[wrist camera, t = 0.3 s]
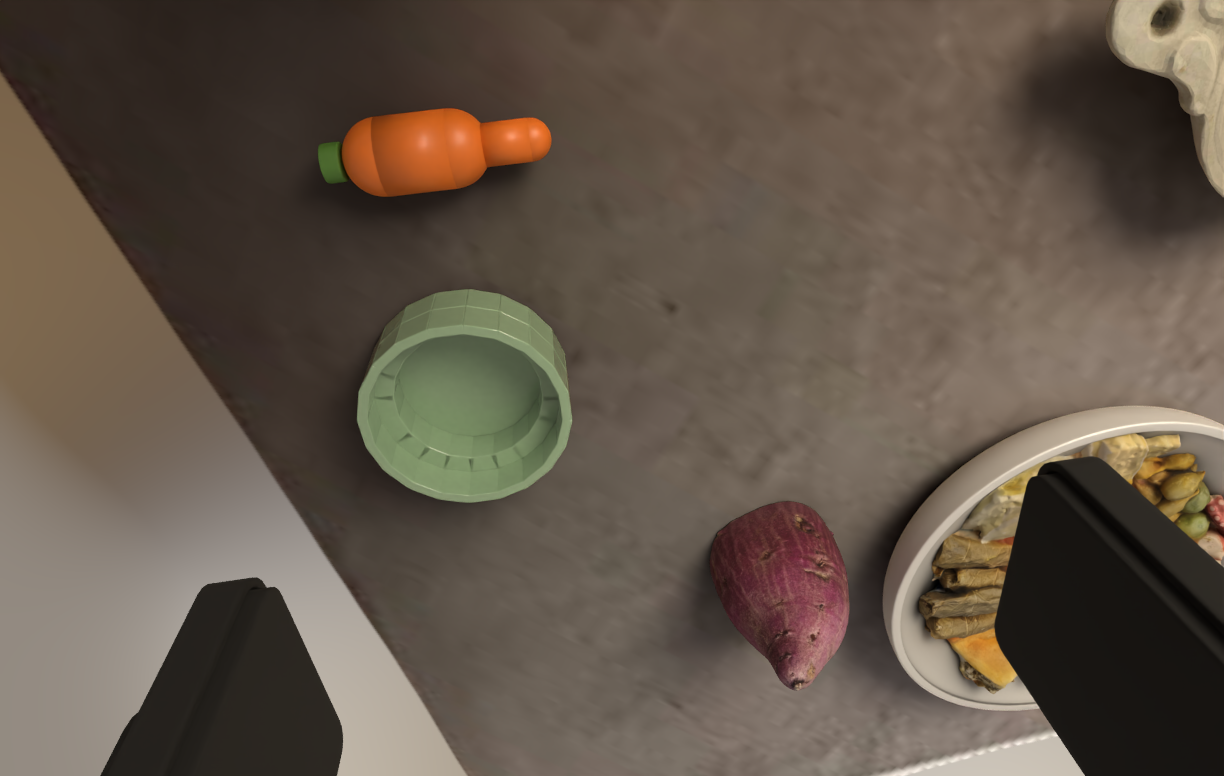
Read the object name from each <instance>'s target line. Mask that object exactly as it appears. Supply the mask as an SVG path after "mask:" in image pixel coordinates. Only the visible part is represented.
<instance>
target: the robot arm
mask: <svg viewBox="0 0 1224 776" xmlns="http://www.w3.org/2000/svg"><path fill="white" fill-rule="evenodd" d="M994 629H995V636H996V640H997V642H998V645H999V647H1000V649H1001V651H1002V653H1003V654H1004V656H1005V657H1006V659H1007V660H1008V662H1009V663H1010V665H1011V666H1012V668H1013V669H1014V671H1015V672H1016V674H1017V675H1018V677H1019V678H1020V680H1021V681H1022V683H1023V684H1024V686H1025V687H1026V689H1027V690H1028V692H1029V693H1030V695H1031V696H1032V697H1033V699H1034V700H1035V702H1036V703H1037V705H1038V706H1039V708H1040V709H1041V711H1042V712H1043V714H1044V715H1045V717H1046V718H1047V720H1048V721H1049V723H1050V724H1051V726H1052V727H1053V729H1054V730H1055V732H1056V733H1057V735H1058V736H1059V737H1060V739H1061V741H1062V742H1063V744H1064V745H1065V747H1066V748H1067V749H1068V751H1069V752H1070V754H1071V755H1072V757H1073V758H1074V760H1075V761H1076V763H1077V764H1078V766H1079V767H1080V769H1081V770H1082V772H1083V773H1084V775H1085V776H1224V567H1223V566H1222V565H1221V564H1219V563H1218V562H1217V561H1216V560H1215V559H1214V558H1213V557H1212V556H1210V555H1209V554H1208V553H1207V552H1206V551H1205V550H1204V549H1203V548H1201V547H1200V546H1199V545H1198V544H1197V543H1196V542H1195V541H1194V540H1193V539H1191V538H1190V537H1189V536H1188V535H1187V534H1186V533H1185V532H1184V531H1182V530H1181V529H1180V528H1179V527H1178V526H1177V525H1176V524H1175V523H1174V522H1172V521H1171V520H1170V519H1169V518H1168V517H1167V516H1166V515H1165V514H1163V513H1162V512H1161V511H1160V510H1159V509H1158V508H1157V507H1156V506H1155V505H1153V504H1152V503H1151V502H1150V501H1149V500H1148V499H1147V498H1146V497H1144V496H1143V495H1142V494H1141V493H1140V492H1139V491H1138V490H1137V489H1136V488H1134V487H1133V486H1132V485H1131V484H1130V483H1129V482H1128V481H1127V480H1125V479H1124V478H1123V477H1122V476H1121V475H1120V474H1119V473H1118V472H1117V471H1115V470H1114V469H1113V468H1112V467H1111V466H1110V465H1109V464H1108V463H1106V462H1105V461H1103V460H1102V459H1100V458H1098V457H1094V456H1088V457H1082V458H1075V459H1068V460H1061V461H1054V462H1049V463H1045V464H1044V465H1043V466H1042V467H1041V468H1040V469H1039V472H1038V474H1037V476H1034V477H1031V478H1030V479H1029V481H1028V483H1027V486H1026V490H1025V494H1024V498H1023V503H1022V507H1021V511H1020V515H1019V520H1018V524H1017V528H1016V532H1015V537H1014V541H1013V545H1012V549H1011V554H1010V558H1009V562H1008V567H1007V571H1006V575H1005V579H1004V584H1003V588H1002V592H1001V596H1000V601H999V605H998V609H997V614H996V618H995V624H994ZM342 748H343V733H342V726H341V723H340V720H339V718H338V716H337V714H336V712H335V709H334V707H333V705H332V703H331V701H330V699H329V697H328V694H327V692H326V690H325V688H324V686H323V683H322V681H321V679H320V677H319V675H318V673H317V671H316V668H315V666H314V664H313V662H312V660H311V657H310V655H309V653H308V651H307V649H306V647H305V645H304V642H303V640H302V638H301V636H300V634H299V631H298V629H297V627H296V625H295V624H294V621H293V618H292V616H291V614H290V612H289V610H288V608H287V606H286V603H285V601H284V599H283V597H282V595H281V593H280V591H279V590H278V589H277V588H275V587H269V588H266V586H265V584H264V583H263V581H262V580H260V579H259V578H247V579H240V580H234V581H226V582H219V583H212V584H207V585H206V586H204V587H203V588H202V589H201V591H200V592H199V593H198V595H197V597H196V599H195V601H194V603H193V605H192V607H191V609H190V611H189V613H188V615H187V617H186V619H185V621H184V623H183V625H182V627H181V629H180V631H179V633H178V635H177V637H176V639H175V641H174V643H173V645H172V647H171V649H170V651H169V653H168V655H167V657H166V659H165V661H164V663H163V665H162V667H161V668H160V670H159V672H158V675H157V677H156V679H155V681H154V682H153V685H152V687H151V688H150V690H149V692H148V694H147V696H146V699H145V700H144V702H143V705H142V706H141V708H140V710H139V712H138V713H137V714H136V715H134V716H133V717H132V719H131V720H130V722H129V723H128V725H127V726H126V728H125V729H124V731H123V733H122V734H121V736H120V738H119V740H118V742H117V744H116V746H115V748H114V750H113V752H112V754H111V756H110V758H109V760H108V762H107V764H106V766H105V768H104V770H103V772H102V774H101V776H337V772H338V768H339V764H340V759H341V754H342Z"/></svg>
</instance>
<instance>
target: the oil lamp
mask: <svg viewBox="0 0 1224 776" xmlns="http://www.w3.org/2000/svg"><path fill="white" fill-rule="evenodd" d="M1105 35H1106V40H1107V42H1108V44H1109V47H1110V49H1111V51H1112V52H1113V53H1114V55H1115V56H1116V57H1117V58H1118V59H1119V60H1121V61H1122V62H1123V63H1124V64H1126V65H1127V66H1129V67H1132V68H1136V69H1140V70H1143V71H1147V72H1150V73H1153V74H1156V75H1159V76H1162V77H1165V78H1169V79H1170V80H1171V81H1172V82H1173V83H1174V85H1175V86H1176V87H1177V89H1178V91H1179V103H1180V106H1181V107H1182V108H1183V110H1184V111H1185V112H1187V113H1188V114H1190V118H1191V124H1192V130H1193V138H1194V143H1195V148H1196V152H1197V156H1198V160H1199V162H1200V164H1201V166H1202V168H1203V171H1204V173H1205V175H1206V176H1207V178H1208V180H1209V181H1210V183H1211V184H1212V186H1213V187H1214V189H1215V190H1216V191H1217V192H1218V193H1219V194H1220V195H1221V196H1222V197H1224V0H1114V1H1113V2H1112V4H1111V6H1110V8H1109V11H1108V14H1107V17H1106V26H1105Z"/></svg>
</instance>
